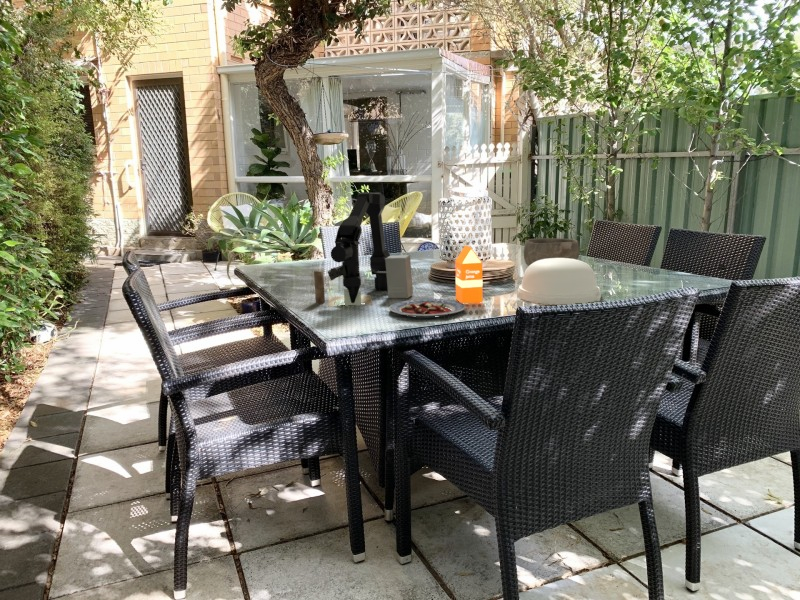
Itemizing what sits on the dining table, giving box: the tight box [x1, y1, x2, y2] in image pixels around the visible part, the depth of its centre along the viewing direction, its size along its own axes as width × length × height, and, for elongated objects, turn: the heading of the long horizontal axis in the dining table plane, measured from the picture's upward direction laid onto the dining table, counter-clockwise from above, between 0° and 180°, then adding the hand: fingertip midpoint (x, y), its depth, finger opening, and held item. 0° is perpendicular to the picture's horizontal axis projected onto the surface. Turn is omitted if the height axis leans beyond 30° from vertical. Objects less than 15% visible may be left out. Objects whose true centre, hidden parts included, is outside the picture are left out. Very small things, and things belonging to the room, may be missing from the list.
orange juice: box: [455, 244, 484, 304], centre depth 224 cm, size 8×9×20 cm
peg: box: [313, 269, 326, 305], centre depth 229 cm, size 3×3×12 cm
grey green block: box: [343, 288, 362, 307], centre depth 226 cm, size 6×6×5 cm
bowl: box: [523, 237, 580, 267], centre depth 280 cm, size 24×24×15 cm
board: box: [327, 294, 373, 308], centre depth 232 cm, size 16×18×1 cm
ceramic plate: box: [388, 298, 466, 318], centre depth 211 cm, size 26×26×3 cm
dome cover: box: [517, 258, 602, 305], centre depth 229 cm, size 32×30×14 cm
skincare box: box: [385, 254, 414, 299], centre depth 236 cm, size 8×7×16 cm
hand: (352, 301), depth 226 cm, fingers closed on grey green block, 6 cm apart
